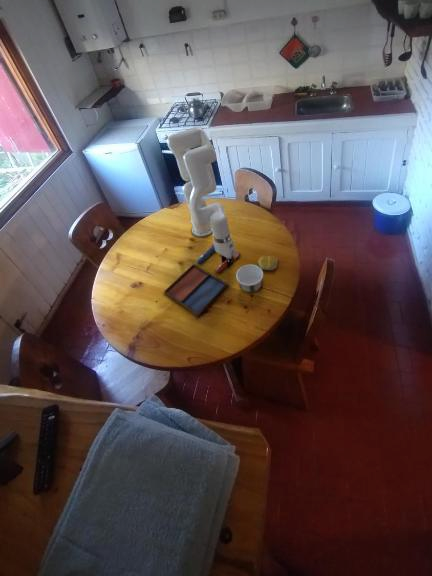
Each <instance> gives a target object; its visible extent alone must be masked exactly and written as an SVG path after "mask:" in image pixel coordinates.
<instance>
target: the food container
mask: <svg viewBox="0 0 432 576" xmlns="http://www.w3.org/2000/svg"><path fill="white" fill-rule="evenodd" d="M235 278H236V281H238V282H239V285H240V286H241V289H242V290H243V291H245V292H247V293H253V292H256V291H258V290H259V289H260V288H261V286H262V281H263V278H264V271H263V269H262V268H261V267H260V266H259V265H256V264H245V265H242V266H241V267H240V268H238V270H237V271H236V276H235Z"/></svg>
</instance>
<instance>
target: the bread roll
mask: <svg viewBox="0 0 432 576" xmlns="http://www.w3.org/2000/svg"><path fill="white" fill-rule="evenodd" d="M278 261H279V260H278V259H277V257H276V256H274V255H269V256H268V255H261V257H259V259H258V261H257V262H258V263H257V264H258V267H260V268H261V269H262V271H263V270H264V271H274V270H275V269H276V268H277V267H278Z"/></svg>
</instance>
